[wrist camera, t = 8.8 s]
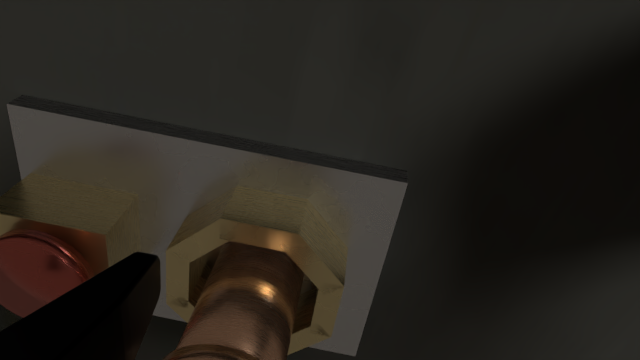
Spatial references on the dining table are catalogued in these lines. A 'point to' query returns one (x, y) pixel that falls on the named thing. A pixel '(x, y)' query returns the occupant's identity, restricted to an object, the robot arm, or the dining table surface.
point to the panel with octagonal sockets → (190, 214)
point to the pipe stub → (244, 307)
